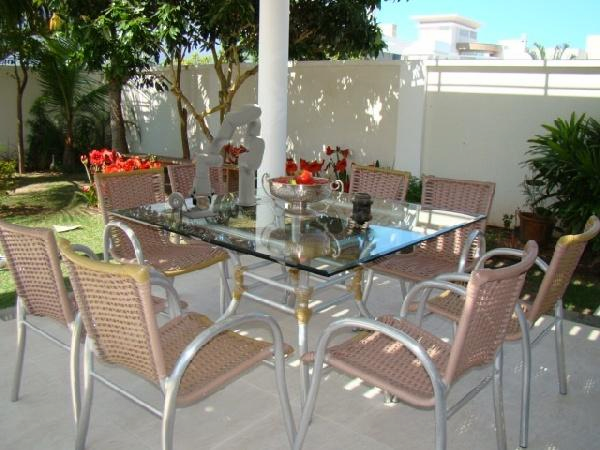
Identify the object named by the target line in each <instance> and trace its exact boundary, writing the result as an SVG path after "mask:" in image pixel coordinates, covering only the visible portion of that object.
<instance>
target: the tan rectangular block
mask: <svg viewBox="0 0 600 450" xmlns="http://www.w3.org/2000/svg"><path fill="white" fill-rule="evenodd" d="M196 199H197V205H196V206H195V205H194V206H195V207H196V208H198V209H200V210H201V211H202V210H209V209H210V205H211V204H210V199H209V198H207V197H205V196H204V195H198V196H197V197H196Z"/></svg>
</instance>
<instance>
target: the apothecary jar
mask: <svg viewBox="0 0 600 450" xmlns="http://www.w3.org/2000/svg"><path fill="white" fill-rule="evenodd" d="M350 202H351V204H352V211H351V212H350V214H349V218H350V219H351V220H352V221H354V222H355V223H357V224H359V225H363V224H366V223H369V222H371V221H372V220H373V217H374V215H373V214H372V212H371V211H372V205H373V204H374V199H373V198H372V194H371V193H369V192H363V191H361V192H360V191H359V192H358V191H357V192H354V196H353V197H352V198H351V199H350Z"/></svg>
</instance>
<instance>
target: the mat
mask: <svg viewBox="0 0 600 450" xmlns="http://www.w3.org/2000/svg"><path fill="white" fill-rule="evenodd" d="M180 215H182V216H184V217H187V218H189V219H192V220H196V219H203V218H212V217H219V216H220V214H218V213H216V212H213V211H210V210H209V209H203V210H202V209H201V210H196V211H195V210H194V211H185V212H180Z"/></svg>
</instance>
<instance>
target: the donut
mask: <svg viewBox="0 0 600 450" xmlns="http://www.w3.org/2000/svg"><path fill="white" fill-rule="evenodd" d="M175 199H177V203H176V201H175ZM168 204H169V206H170V208H172V209H173V210H180V209H181V208H182V207H184V204H185V198H184V196H183V194H181V193H180V192H178V191H173V192H171V194H169V197H168Z"/></svg>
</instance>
